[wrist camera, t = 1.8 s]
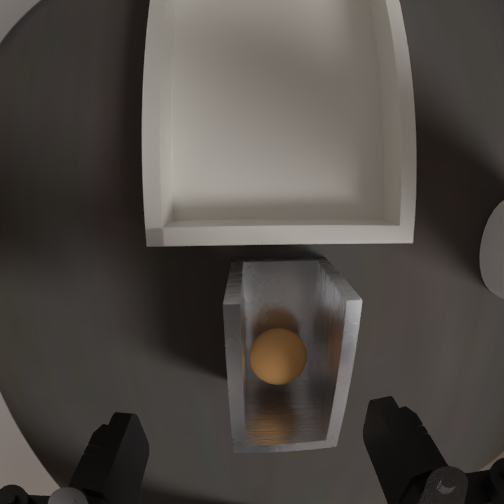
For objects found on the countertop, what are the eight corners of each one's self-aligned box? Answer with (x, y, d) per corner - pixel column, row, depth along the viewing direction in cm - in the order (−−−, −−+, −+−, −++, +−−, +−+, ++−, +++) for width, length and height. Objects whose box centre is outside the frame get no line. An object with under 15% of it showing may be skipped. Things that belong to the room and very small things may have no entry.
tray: (387, 231, 16) (412, 243, 13) (164, 233, 16) (146, 246, 13) (372, -11, 13) (390, -34, 10) (169, -17, 12) (156, -44, 10)
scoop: (316, 378, 19) (336, 446, 13) (237, 381, 19) (233, 452, 13) (325, 257, 17) (362, 299, 11) (232, 259, 17) (222, 304, 11)
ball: (316, 355, 17) (321, 351, 14) (280, 394, 16) (278, 397, 14) (277, 322, 18) (275, 311, 15) (242, 359, 17) (233, 356, 15)
